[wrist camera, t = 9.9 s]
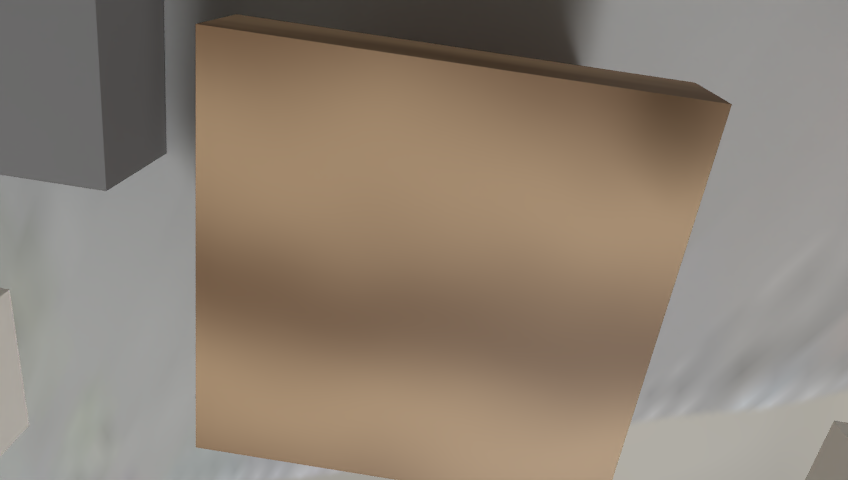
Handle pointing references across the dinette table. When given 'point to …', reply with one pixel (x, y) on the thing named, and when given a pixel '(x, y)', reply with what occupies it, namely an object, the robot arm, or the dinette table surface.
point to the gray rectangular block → (81, 89)
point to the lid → (432, 250)
